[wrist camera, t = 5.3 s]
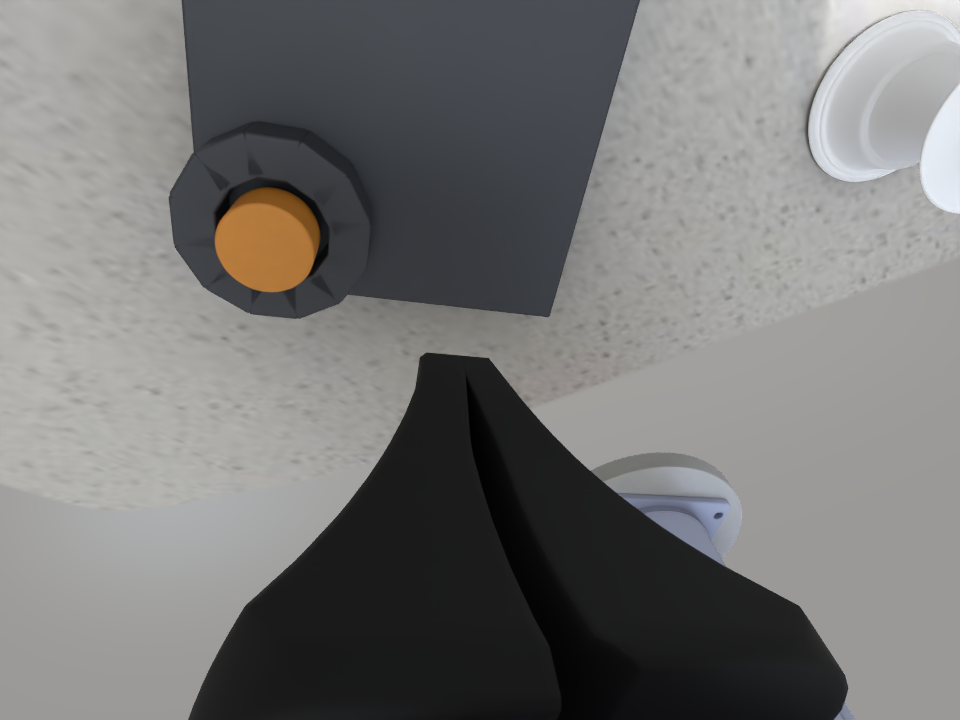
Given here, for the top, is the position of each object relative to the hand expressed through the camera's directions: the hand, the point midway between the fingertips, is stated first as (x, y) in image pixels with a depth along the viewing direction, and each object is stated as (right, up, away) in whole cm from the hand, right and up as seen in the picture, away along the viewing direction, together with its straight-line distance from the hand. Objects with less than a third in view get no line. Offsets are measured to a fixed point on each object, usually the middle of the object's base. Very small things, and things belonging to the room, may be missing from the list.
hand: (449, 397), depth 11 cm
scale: (-2, +9, +7) cm, 11 cm away
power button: (-5, +5, +6) cm, 9 cm away
